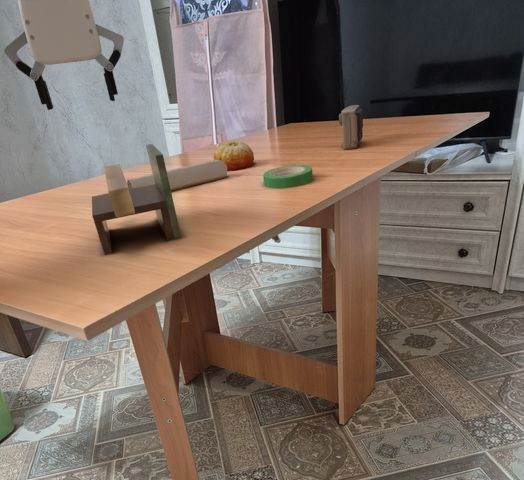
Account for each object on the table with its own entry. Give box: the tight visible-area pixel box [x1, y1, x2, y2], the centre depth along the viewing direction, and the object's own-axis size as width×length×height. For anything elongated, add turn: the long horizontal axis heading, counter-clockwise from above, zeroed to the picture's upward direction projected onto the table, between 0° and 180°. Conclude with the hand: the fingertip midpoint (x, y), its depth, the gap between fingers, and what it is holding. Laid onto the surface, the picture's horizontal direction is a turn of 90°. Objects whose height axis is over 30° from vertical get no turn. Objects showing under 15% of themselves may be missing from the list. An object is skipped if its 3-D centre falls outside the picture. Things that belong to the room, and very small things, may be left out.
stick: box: [103, 163, 136, 218], centre depth 81 cm, size 3×24×4 cm, turn 18°
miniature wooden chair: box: [91, 143, 182, 256], centre depth 82 cm, size 13×15×14 cm
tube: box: [126, 159, 228, 192], centre depth 114 cm, size 5×5×25 cm
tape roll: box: [262, 164, 314, 189], centre depth 105 cm, size 11×11×3 cm
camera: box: [338, 104, 364, 150], centre depth 132 cm, size 11×6×10 cm, turn 162°
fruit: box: [213, 141, 255, 172], centre depth 127 cm, size 11×10×8 cm
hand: (82, 104), depth 74 cm, fingers open, 9 cm apart
